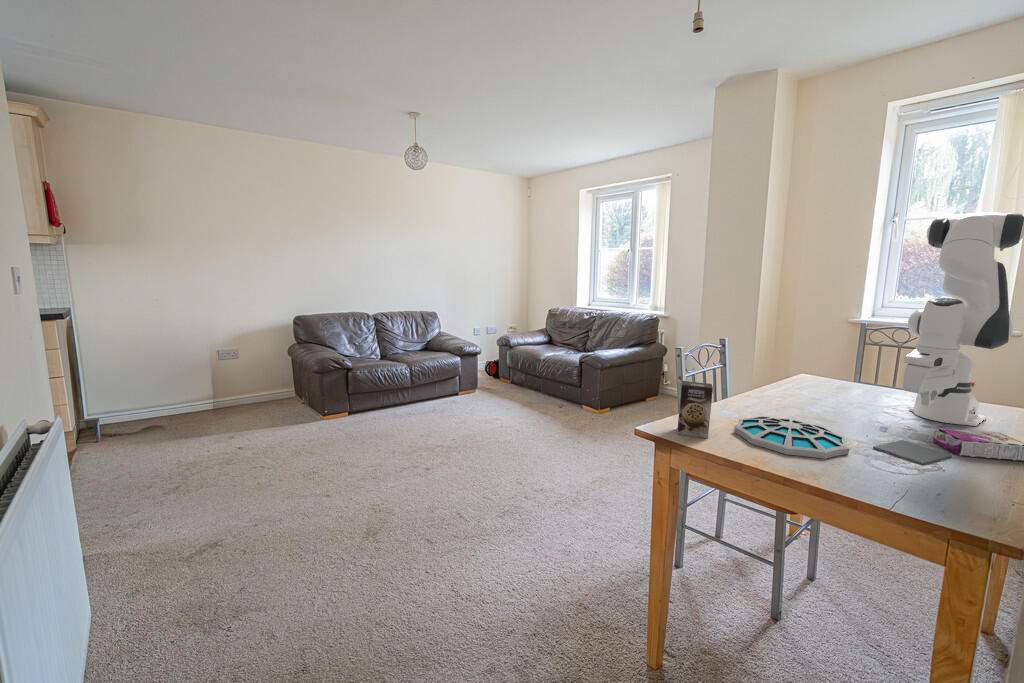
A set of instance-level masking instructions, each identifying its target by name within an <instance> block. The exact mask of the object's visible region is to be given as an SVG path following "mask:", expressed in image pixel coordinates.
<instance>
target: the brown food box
mask: <svg viewBox="0 0 1024 683" xmlns="http://www.w3.org/2000/svg"><path fill="white" fill-rule="evenodd" d="M713 392H714V387H713V384H712V383H707V382H699V381H698V382H697V381H688V380H687V381H686V380H681V386H680V396H679V397H680V398H679V407H678V408H679V409H678V418H677V430H676V433H677V435H680V436H681V435H682V436H688V437H695V438H700V439H701V438H702V439H709V432H710V431H709V430H710V422H711V411H712V400H713Z"/></svg>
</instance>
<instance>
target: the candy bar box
mask: <svg viewBox="0 0 1024 683" xmlns="http://www.w3.org/2000/svg"><path fill="white" fill-rule="evenodd" d="M934 429H935V430H934V434H933V440H932V442H933V443H934V444H936V445H938V446H940V447H941V448H944V449H945V450H948V451H950V452H951V453H953V454H955V455H957V456H958V457H959V456H960V457H970V458H979V459H980V458H982V459H983V458H984V459H994V460H995V459H996V460H1005V461H1019V462H1024V442H1023V441H1021V440H1019V439H1016V438H1013V437H1011V436H1008V435H1006V434H1004V433H1001V432H999V431H983V430H971V429H969V430H968V429H955V428H942V427H935V428H934Z"/></svg>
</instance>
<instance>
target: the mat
mask: <svg viewBox="0 0 1024 683" xmlns="http://www.w3.org/2000/svg"><path fill="white" fill-rule="evenodd" d="M872 449H873V450H876V451H879V452H881V453H885V454H888V455H891V456H894V457H897V458H900V459H903V460H906V461H910V462H912V463H914V464H915V463H916V464H918V465H921V466H924V465H927V464H928V465H929V464H932V463H935V462H936V463H937V462H939V461H943V460H947V459H951V458H953V455H952V454H950V453H947V452H943V451H940V450H937V449H933V448H929V447H927V446H924V445H921V444H917V443H915V442H910V441H908V440H904V439H901V440H896V441H891V442H887V443H884V444H878V445H875V446H872Z"/></svg>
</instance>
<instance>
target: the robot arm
mask: <svg viewBox="0 0 1024 683" xmlns="http://www.w3.org/2000/svg"><path fill="white" fill-rule="evenodd" d="M1023 238H1024V215H1023V214H1021V213H1018V212H1017V213H1016V212H1007V213H1002V212H978V213H967V214H965V213H964V214H956V215H942V216H937V218H935V219H934V220H933V221H931V224H930V225H929V226H928V229H927V231H926V239H927V242H928V245H930V246H931V247H932V248H936V249H940V253H939V260H938V263H939V267H940V268H941V270H942V271H943V272H944V278H943V282H942V290H943V292H944V293H945V294H946V295H947V296H948V297H937V298H932V299H929V300H927V301H926V303H925V305H924V307H923V308H919V309H917V310H915V311H913V312H912V313H911V315H910V316H909V318H908V320H907V327H908V330H909V331H910V333H911V334H912V335H913V336H915V337H916V338H918V339H917V342H916V345H915V348H914V349H913V350H912V351H911V352H910V353H908V354H907V355H905V357H904V363H905V364H906V365H905V366H904V371H903V376H902V377H903V378H902V388H903V390H904V391H906V392H910V393H914V394H916V397H915V401H914V406H911V407H909V409H908V410H909V411H911V412H912V413H914V415H915V416H918V417H921V418H924V419H927V420H931V421H935V422H940V423H945V424H953V425H963V426H964V425H965V426H971V427H976V426H979V425H980V424H981V423H983V422H984V421H986V420H985V419H987V416H985V415H982V414H979V412H978V411H979V405H980V404H979V403H980V402H979V401H978V400H977V399H976V398H975V396H974V395H973V394H972V391H973V390H972V388H975V386H976V382H975V381H971V378H972V372H973V367H974V361H973V358H972V357H971V356H970V355H968V354H967V353H965V352H963V351H962V350H960V347H961V346H962V345H963V346H970V347H971V346H972V347H975V348H982V349H988V350H994V349H996V348H997V349H998V348H999V347H1002V346H1004V345H1006V344H1008V343H1009V342H1010V340H1011V339H1012V336H1013V333H1014V331H1013V330H1014V327H1013V322H1012V319H1011V316H1010V310H1009V308H1010V307H1009V306H1010V305H1009V300H1010V299H1009V288H1008V287H1009V286H1008V285H1009V284H1008V279H1007V278H1008V277H1007V270H1006V267H1005V265H1004V263H1002V262H999V261H997V259H995V249H996V248H998V249H999V252H1002V251H1004V249H1008V248H1013V247H1014V246H1016V245H1018V244H1019V243H1020V241H1022V240H1023ZM950 297H951V298H950ZM960 345H961V346H960ZM983 420H984V421H983ZM982 421H983V422H982ZM979 423H980V424H979Z"/></svg>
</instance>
